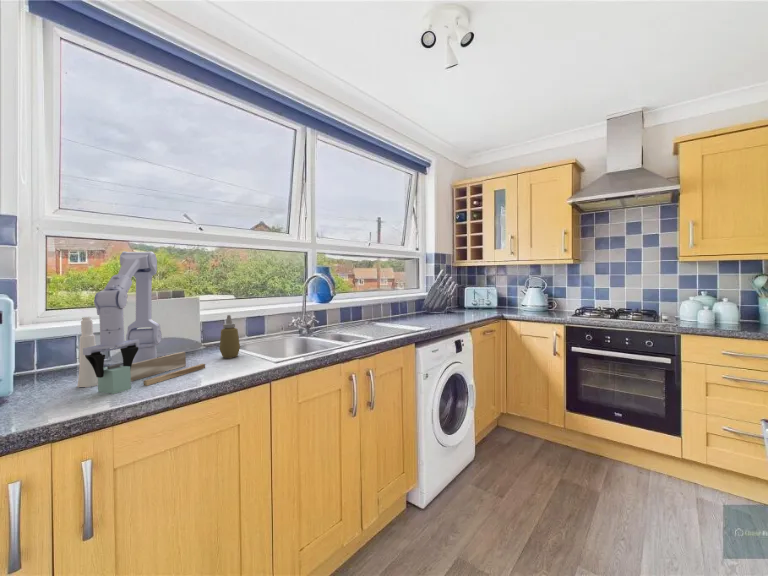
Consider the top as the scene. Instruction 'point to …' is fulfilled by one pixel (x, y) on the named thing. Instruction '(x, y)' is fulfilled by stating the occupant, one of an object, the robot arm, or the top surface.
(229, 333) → the squeeze bottle
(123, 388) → the teal box
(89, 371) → the cosmetic bottle
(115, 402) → the top surface
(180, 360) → the cleat board
